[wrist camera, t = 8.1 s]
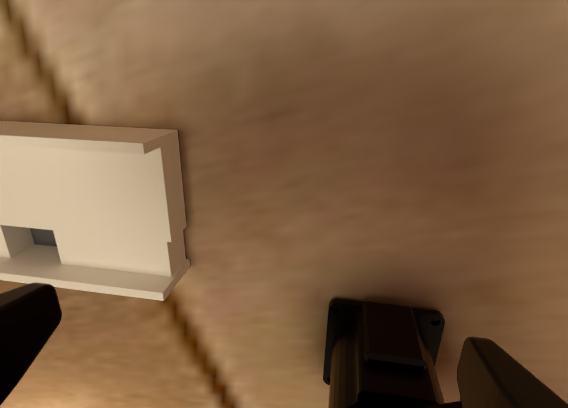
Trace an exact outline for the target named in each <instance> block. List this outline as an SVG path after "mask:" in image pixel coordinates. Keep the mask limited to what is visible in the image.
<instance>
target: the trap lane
mask: <svg viewBox="0 0 568 408" xmlns="http://www.w3.org/2000/svg"><path fill="white" fill-rule="evenodd" d="M186 227H187V225H186V215H185V204H184V193H183V183H182V172H181V161H180V151H179V140H178V130H172V129H152V128H133V127H113V126H94V125H74V124H55V123H35V122H16V121H0V280H5V281H13V282H21V283H28V284H30V283H35V282H36V283H46V284H51V285H53V287H60V288H67V289H75V290H83V291H91V292H99V293H107V294H114V295H122V296H130V297H138V298H146V299H153V300H161V301H164V300H165V298H166V297H167V296H168V294H169V293H170V292H171V291H172V289H173V288H174V287H175V285H176V284H177V283H178V282H179V280H180V279H181V278H182V276H183V275H184V274H185V273H186V271H187V270H188V269H189V267H190V259H186V255H185V245H184V235H183V230H184V229H185V228H186Z"/></svg>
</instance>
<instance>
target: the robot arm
mask: <svg viewBox="0 0 568 408" xmlns="http://www.w3.org/2000/svg"><path fill="white" fill-rule="evenodd" d="M334 307H340V309H335V308H334ZM61 317H62V311H61V308H60V304H59V300H58V297H57V293H56V290H55V288H54V287H53V285H51V284H46V283H36V282H35V283H30V284H27V285H24V286H21V287H18V288H16V289H13V290H10V291H7V292H4V293H1V294H0V405H1V404H2V403H3V402H4V400H5V399H6V398H7V397H8V395H9V394H10V393H11V392H12V390H13V389H14V388H15V386H16V385H17V384H18V382H19V381H20V380H21V378H22V377H23V375H24V374H25V373H26V371H27V370H28V368H29V367H30V365H31V364H32V362H33V361H34V360H35V358H36V357H37V355H38V354H39V352H40V351H41V349H42V348H43V347H44V345H45V344H46V342H47V341H48V339H49V338H50V336H51V335H52V334H53V332H54V331H55V329H56V328H57V326H58V325H59V323H60V321H61ZM432 319H438V320H436V321H431V320H432ZM444 324H445V320H444V318H443V315H442V314H441V313H440V312H439V311H435V310H427V309H418V308H410V307H405V306H397V305H388V304H380V303H371V302H359V301H351V300H342V299H334V300H332V301H331V302H330V303H329V311H328V323H327V335H326V348H325V360H324V373H323V381H324V382H325V383H326V384H328V385H330V394H329V408H568V404H567V403H566V402H565V401H564V400H562V399H561V398H560V397H559V396H558V395H556V394H555V393H554V392H553V391H552V390H551V389H549V388H548V387H547V386H546V385H545V384H543V383H542V382H541V381H540V380H539V379H537V378H536V377H535V376H534V375H533V374H531V373H530V372H529V371H528V370H527V369H525V368H524V367H523V366H522V365H521V364H520V363H518V362H517V361H516V360H515V359H514V358H512V357H511V356H510V355H509V354H508V353H506V352H505V351H504V350H503V349H502V348H500V347H499V346H498V345H497V344H496V343H494V342H493V341H492V340H490V339H486V338H478V337H468V338H466V340H465V342H464V345H463V349H462V352H461V356H460V360H459V364H458V368H457V381H458V387H459V392H460V397H461V398H460V400H461V401H457V402H450V403H444V399H443V396H442V392H441V389H440V385H439V382H438V378H437V375H436V371H435V367H434V366H435V362H436V358H437V354H438V349H439V345H440V341H441V337H442V332H443V328H444Z"/></svg>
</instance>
